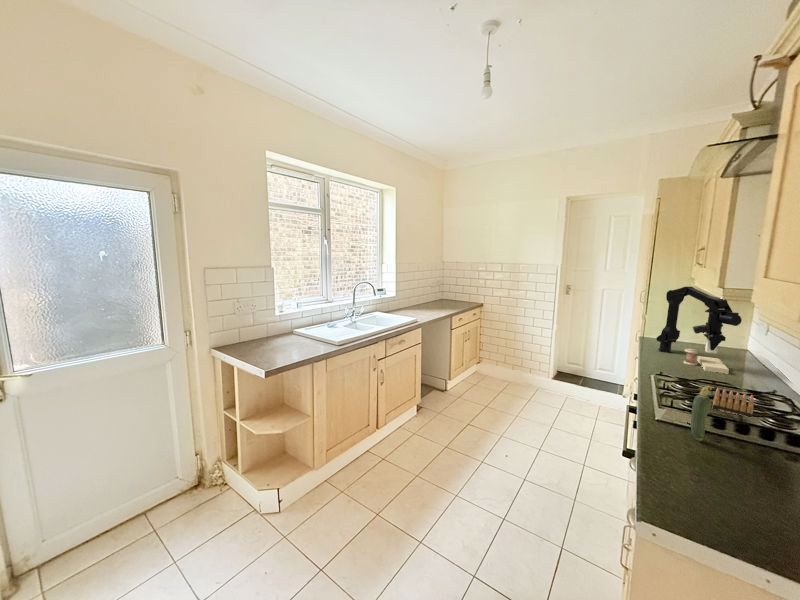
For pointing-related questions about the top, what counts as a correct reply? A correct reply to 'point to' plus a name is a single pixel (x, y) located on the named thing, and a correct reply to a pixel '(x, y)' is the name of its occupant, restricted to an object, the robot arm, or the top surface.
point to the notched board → (712, 364)
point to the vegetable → (700, 413)
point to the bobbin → (691, 357)
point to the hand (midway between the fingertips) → (710, 349)
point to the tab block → (707, 347)
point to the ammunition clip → (733, 403)
